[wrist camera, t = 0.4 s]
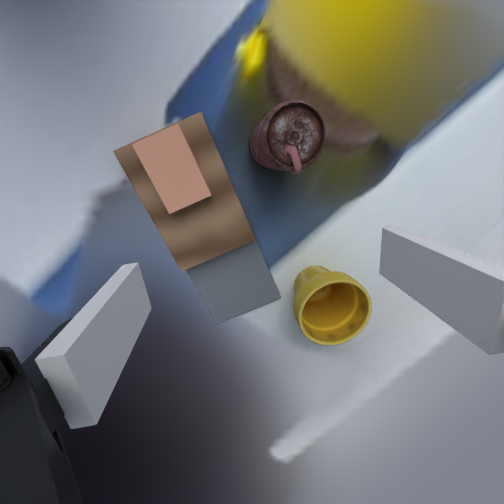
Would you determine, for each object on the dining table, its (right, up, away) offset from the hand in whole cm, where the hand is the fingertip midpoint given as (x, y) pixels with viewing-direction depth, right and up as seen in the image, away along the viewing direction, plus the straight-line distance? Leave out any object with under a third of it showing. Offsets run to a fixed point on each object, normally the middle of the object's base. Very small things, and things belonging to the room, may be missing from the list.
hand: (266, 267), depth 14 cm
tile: (-11, +11, +20) cm, 25 cm away
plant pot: (+10, -4, +30) cm, 32 cm away
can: (+2, +16, +22) cm, 27 cm away
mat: (-4, -4, +29) cm, 29 cm away
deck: (-9, +9, +23) cm, 27 cm away
